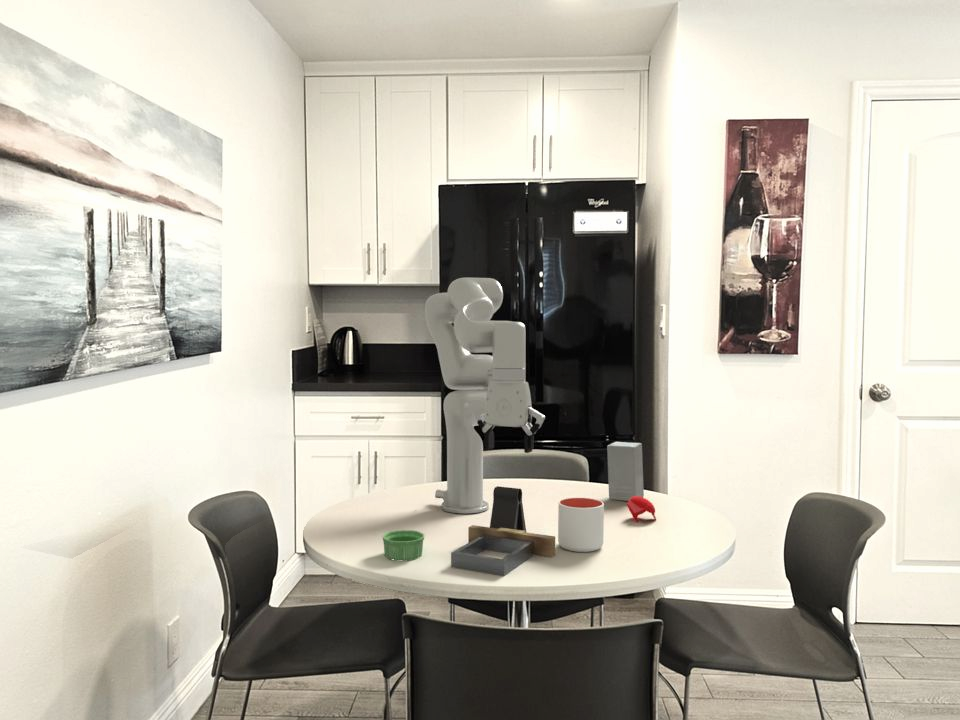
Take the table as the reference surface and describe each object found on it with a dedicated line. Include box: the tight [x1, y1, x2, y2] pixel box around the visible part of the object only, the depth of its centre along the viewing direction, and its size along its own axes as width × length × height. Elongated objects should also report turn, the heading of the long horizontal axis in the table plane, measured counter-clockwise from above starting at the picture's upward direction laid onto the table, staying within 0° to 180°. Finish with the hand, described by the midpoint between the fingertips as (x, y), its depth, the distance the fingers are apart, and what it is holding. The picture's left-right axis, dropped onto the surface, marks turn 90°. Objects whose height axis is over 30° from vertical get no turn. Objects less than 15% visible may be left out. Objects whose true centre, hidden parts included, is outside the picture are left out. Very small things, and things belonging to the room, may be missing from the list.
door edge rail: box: [467, 524, 556, 558], centre depth 174 cm, size 20×2×4 cm, turn 64°
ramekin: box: [382, 529, 425, 561], centre depth 170 cm, size 9×9×4 cm
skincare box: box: [606, 441, 645, 502], centre depth 221 cm, size 8×7×16 cm
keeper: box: [450, 534, 534, 577], centre depth 166 cm, size 12×15×3 cm
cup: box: [557, 497, 605, 553], centre depth 176 cm, size 10×10×10 cm
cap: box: [626, 496, 657, 523], centre depth 199 cm, size 8×6×6 cm
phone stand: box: [489, 486, 527, 532], centre depth 182 cm, size 9×6×12 cm, turn 155°
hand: (508, 450), depth 181 cm, fingers open, 9 cm apart
